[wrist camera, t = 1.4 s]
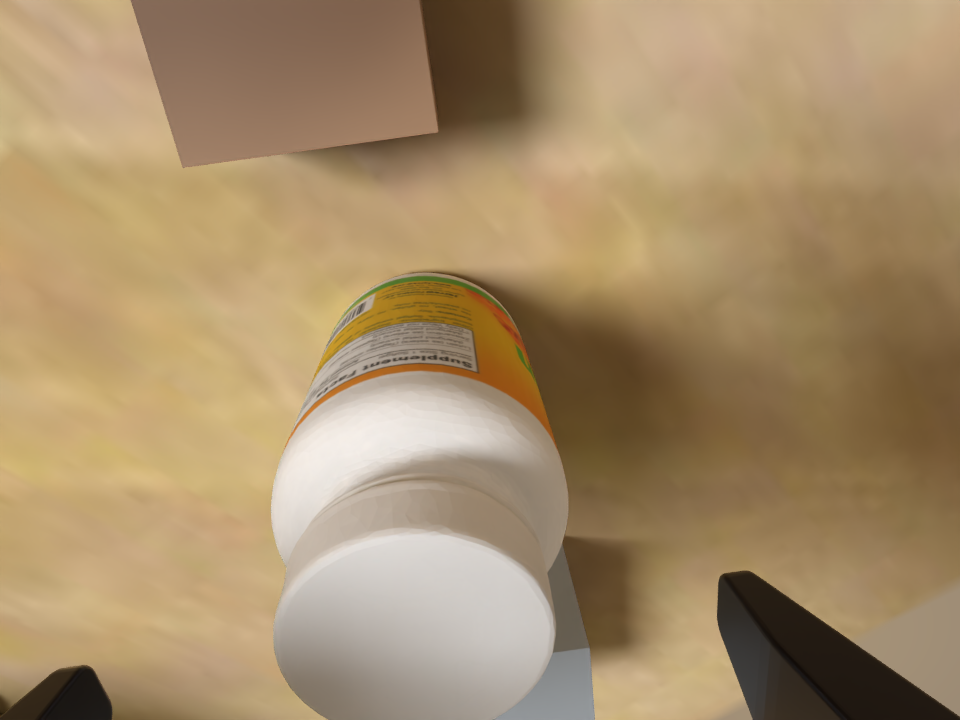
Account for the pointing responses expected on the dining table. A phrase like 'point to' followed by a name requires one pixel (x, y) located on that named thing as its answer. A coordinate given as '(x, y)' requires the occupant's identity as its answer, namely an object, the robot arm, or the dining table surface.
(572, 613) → the slate block
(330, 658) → the supplement bottle
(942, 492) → the dining table surface
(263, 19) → the pinkish brown block
